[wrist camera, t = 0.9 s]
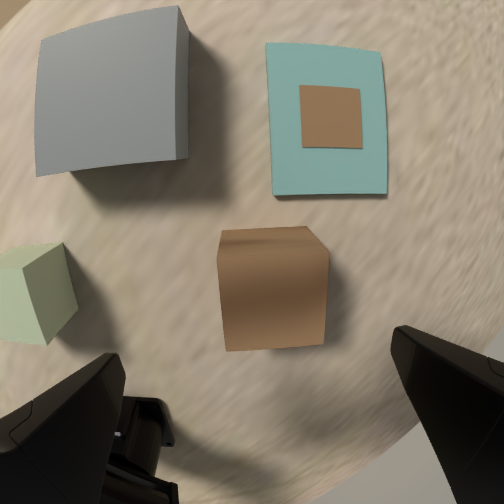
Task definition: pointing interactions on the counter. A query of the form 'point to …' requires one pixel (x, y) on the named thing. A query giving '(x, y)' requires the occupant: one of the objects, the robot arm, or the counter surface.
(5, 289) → the sage cube
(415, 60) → the counter surface
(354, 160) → the card
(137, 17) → the slate block
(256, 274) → the walnut cube
